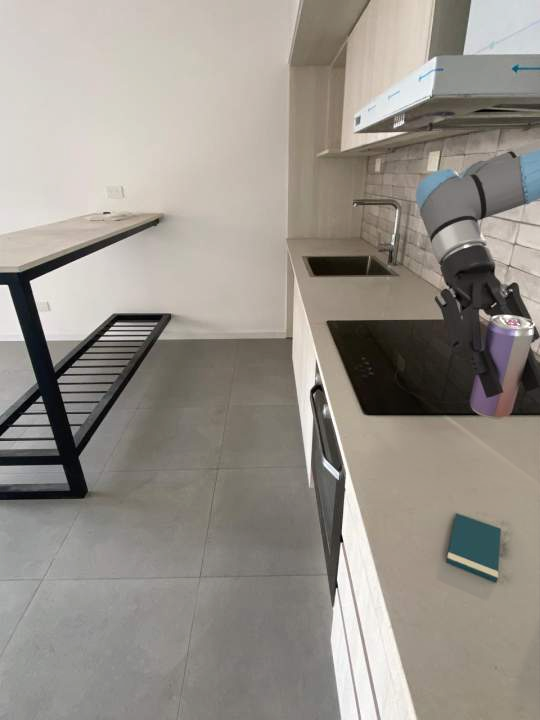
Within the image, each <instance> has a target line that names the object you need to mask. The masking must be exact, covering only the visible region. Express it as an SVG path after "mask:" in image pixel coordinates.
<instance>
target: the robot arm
mask: <svg viewBox="0 0 540 720" xmlns="http://www.w3.org/2000/svg"><path fill="white" fill-rule="evenodd" d="M415 199H416V202H417V203H416V204H417V207H418V209H419V215H420V218H421V219H422V222H423V225H424V227H425V230H426V233H427V235H428V238H429V241H430V243H431V246H432V250H433V252H434V255H435V257H436V260H437V263H438V264H439V265H440V268H439V269H440V272H441V274H442V277H443V280H444V283H445V285H446V286H447V287H448V288H443V289H442V290H441V291H440V292H439V293H437V295H435V296H434V301H435V303H436V304H437V306H438V307H439V309H440V311H441V315H442V319H443V321H444V326H445V329H446V332H447V336H448V340H449V344H450V347H451V350H452V351H451V352H453V353H454V354H456V355H457V354H460V355H461V357H463V358H464V359H467V358H468V362H469V364H470V366H471V369H472V372H473V374H474V375H479V378H480V381H481V384H482V386H483V389H484V392H485V395H486V398H489V397H493V396H495V395H498V394H501V393H503V389H502V387H501V384H500V381H499V379H498V376H497V373H496V371H495V368H494V365H493V363H492V360H491V357H490V355H489V352H488V350H483V351H481V349H482V336H481V335H482V334H481V320H480V319H481V318H480V310H482V311H483V312H484V313H485V314H486V316H490V317H492V316H495V315H514V316H519V317H523V318H526V319H529V320H531V321H533V319H532V316H531V314H530V312H529V311H528V309H527V306H526V304H525V302H524V301H523V298H522V296H521V291H520V286H519V284H518V283H517V282H516V281H513V282H511V283H510V284H505V283H502V282H501V280H500V279H499V278H498V277H497V276H496V273H495V272H496V263H495V260H494V258H493V256H492V253H491V251H490V248H489V247H488V244H487V241H486V238H485V236H484V234H483V232H482V229H481V227H480V224H479V221H481V220H484V219H486V218H489V217H492V216H495V215H498V214H500V213H504V212H507V211H510V210H514V209H516V208H518V207H522V206H525V205H530V204H531V203H533V202H535V201H537V200H540V138H537V139H535V140H532V141H530V142H528V143H525V144H522V145H520V146H517V147H516V148H513V149H511V150H509V151H507V152H504V153H501V154H499V155H497V156H494V157H492V158H489V159H487V160H480V161H477V162H474V163H473V164H470V165H469V166H467V167H466V168H465V169H464V170H463V172H462V173H461V174H458V172H457V171H456V170H454V169H452V168H447V169H439V170H436V171H434V172H432V173H430V174H429V175H427V176H426V177H425V178H424V179H422V181H421V182H420V183H419V184H418V186H417V188H416V191H415ZM458 303H459V305H458ZM539 339H540V333H539V331H538V329H537V327H536V324H535V325H534V335H533V338H532V342H531V344H533V343H534V342H536V341H537V340H539ZM537 365H538V360H537V358H536V355H535V353H534V351H533V348H532V345H531V346H530V349H529V353H528V356H527V360H526V363H525V367H524V370H523V374H522V377H521V381H520V382H521V383H522V386H523V389H524V391H525V393H528V392H533V391H535V390H538V389H540V373H539V371H538V368H537Z"/></svg>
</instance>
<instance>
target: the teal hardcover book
mask: <svg viewBox="0 0 540 720" xmlns="http://www.w3.org/2000/svg"><path fill="white" fill-rule="evenodd" d="M501 534H502V529H501V527H498V526H494V525H492V524H489V523H486V522H483V521H481V520H478V519H475V518H471V517H469V516H466V515H463V514H460V513H456V512H455V517H454V521H453V525H452V531H451V537H450V542H449V546H448V551H447V556H446V561H445V562H446V564H448V565H451V566H453V567H456V568H459V569H460V570H463V571H465V572H466V571H467V572H469V573H471V574H473V575H476V576H478V577H481V578H483V579H485V580H488V581H489V582H492V583H496V584H497V582H498V579H499V565H500V564H499V563H500V549H501Z"/></svg>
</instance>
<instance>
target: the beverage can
mask: <svg viewBox="0 0 540 720" xmlns="http://www.w3.org/2000/svg"><path fill="white" fill-rule="evenodd" d="M534 325H535V326H536V324H535V322H534V321H533V320H532V321H531V320H529V319H526V318H523V317H519V316H514V315H495V316H492V317H491V316H490V317H489V320H488V322H487V324H486V327H485V332H484V335H483V340H482V343H481V350H480V351H483V350H488V352H489V355H490V357H491V360H492V363H493V365H494V368H495V371H496V373H497V376H498V379H499V381H500V384H501V387H502V389H503V393H501V394H498V395H495V396H493V397H489V398H486V395H485V392H484V389H483V386H482V384H481V381H480V378H479V375H475V374H474V375H475V376H474V380H473V385H472V389H471V393H470V398H469V405H470V409H472V411H473V412H474V413H476V414H477V415H480V416H482V417H484V418H487V419H492V420H501V419H505V418H507V417H508V416H510V415H511V414H512V412H513V409H514V406H515V402H516V399H517V394H518V392H519V388H520V384H521V382H522V381H521V377H522V374H523V370H524V367H525V363H526V360H527V356H528V353H529V349H530V346H531V347H532V343H531V342H532V338H533V335H534Z"/></svg>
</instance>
